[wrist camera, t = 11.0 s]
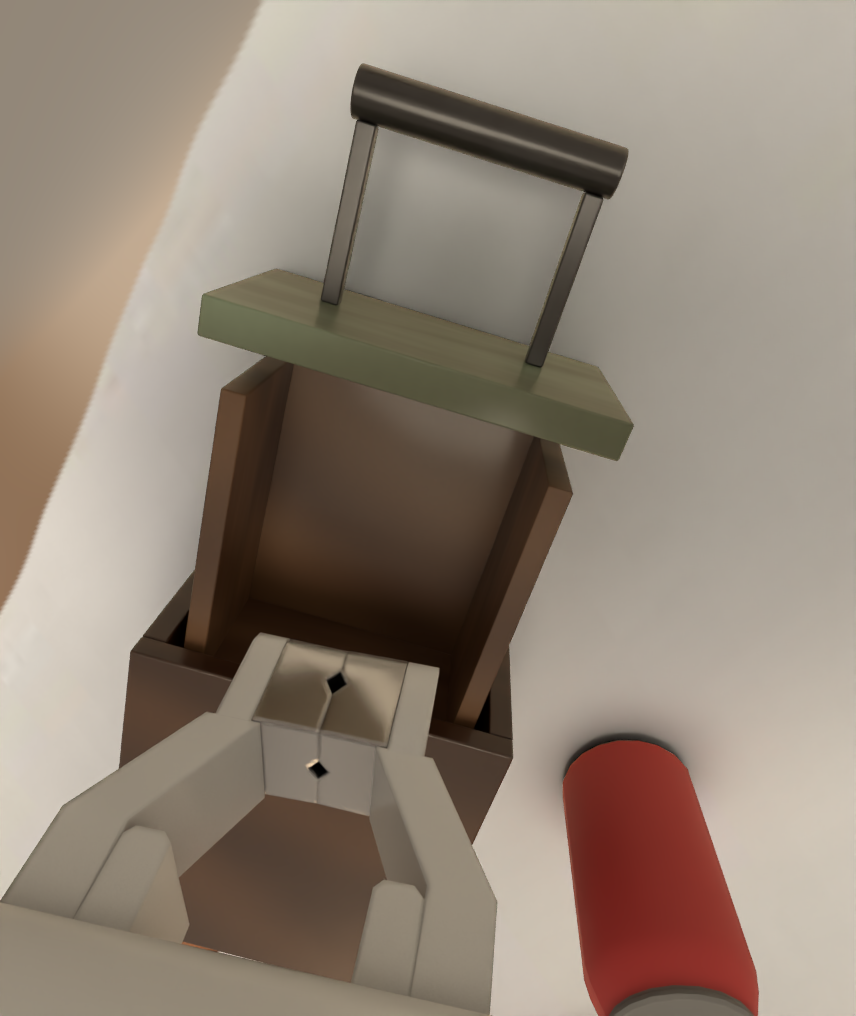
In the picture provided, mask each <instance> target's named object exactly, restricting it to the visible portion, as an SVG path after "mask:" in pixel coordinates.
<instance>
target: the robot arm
mask: <svg viewBox="0 0 856 1016" xmlns="http://www.w3.org/2000/svg"><path fill="white" fill-rule="evenodd" d="M438 677H439V668H437V667H432V666H427V665H422V664H416V663H411V662H409V664H408V661H403V660H398V659H392V658H387V657H382V656H376V655H371V654H365V653H360V652H354V651H344V650H340V649H335V648H331V647H326V646H322V645H317V644H313V643H308V642H304V641H299V640H295V639H289V638H284V637H280V636H275V635H270V634H266V633H261V632H260V633H259V634H258V635H257V636H256V637H255V638H254V640H253V641H252V643H251V645H250V647H249V649H248V651H247V653H246V655H245V657H244V659H243V661H242V663H241V665H240V666H239V668H238V670H237V672H236V674H235V676H234V678H233V680H232V682H231V684H230V686H229V688H228V690H227V692H226V694H225V696H224V698H223V700H222V702H221V703H220V705H219V707H218V709H217V711H216V713H210V712H205V713H204V714H202V715H201V716H199V717H198V718H196V719H195V720H193V721H192V722H190V723H188V724H187V725H185V726H184V727H182V728H181V729H179V730H178V731H176V732H175V733H173V734H172V735H170V736H169V737H167V738H165V739H164V740H162V741H161V742H159V743H158V744H156V745H155V746H153V747H152V748H150V749H149V750H147V751H146V752H144V753H142V754H141V755H139V756H138V757H136V758H135V759H133V760H132V761H130V762H129V763H127V764H126V765H124V766H123V767H121V768H119V769H118V770H116V771H115V772H113V773H112V774H110V775H109V776H107V777H106V778H104V779H103V780H101V781H100V782H98V783H97V784H95V785H93V786H92V787H90V788H89V789H87V790H86V791H84V792H83V793H81V794H80V795H78V796H77V797H75V798H74V799H72V800H70V801H69V802H67V803H66V804H64V805H63V806H62V807H61V809H60V811H59V812H58V814H57V815H56V817H55V818H54V820H53V821H52V823H51V824H50V826H49V827H48V829H47V830H46V832H45V833H44V835H43V836H42V838H41V839H40V841H39V843H38V844H37V846H36V847H35V849H34V850H33V852H32V853H31V855H30V856H29V858H28V859H27V861H26V862H25V864H24V865H23V867H22V868H21V870H20V872H19V873H18V875H17V876H16V878H15V879H14V881H13V882H12V884H11V885H10V887H9V888H8V890H7V891H6V893H5V894H4V896H3V897H2V899H1V900H0V1016H492V1015H490V1002H491V987H492V972H493V957H494V943H495V928H496V913H497V900H496V898H495V896H494V893H493V891H492V889H491V887H490V885H489V882H488V880H487V878H486V876H485V873H484V871H483V869H482V867H481V864H480V862H479V860H478V858H477V856H476V853H475V851H474V849H473V847H472V844H471V842H470V840H469V838H468V836H467V833H466V831H465V829H464V827H463V824H462V822H461V820H460V818H459V815H458V813H457V811H456V809H455V807H454V804H453V802H452V800H451V798H450V795H449V793H448V791H447V789H446V786H445V784H444V782H443V780H442V778H441V775H440V773H439V771H438V769H437V766H436V764H435V762H434V760H433V758H429V757H425V751H426V746H427V740H428V734H429V728H430V723H431V717H432V711H433V706H434V700H435V694H436V689H437V683H438ZM265 794H268V795H273V796H279V797H284V798H289V799H295V800H300V801H306V802H311V803H317V804H321V805H325V806H329V807H333V808H338V809H342V810H346V811H350V812H354V813H358V814H362V815H367V816H370V817H369V820H370V823H371V827H372V830H373V833H374V837H375V840H376V844H377V847H378V851H379V854H380V857H381V861H382V864H383V868H384V871H385V875H386V878H387V880H383V881H381V882H380V883H379V884H377V885H376V886H374V887H373V890H372V894H371V899H370V903H369V907H368V911H367V916H366V920H365V924H364V929H363V933H362V937H361V941H360V946H359V950H358V954H357V959H356V963H355V967H354V971H353V976H352V980H351V983H349V982H344V981H340V980H336V979H331V978H327V977H323V976H318V975H314V974H310V973H305V972H301V971H297V970H292V969H288V968H284V967H279V966H275V965H271V964H266V963H262V962H258V961H253V960H249V959H245V958H240V957H236V956H232V955H227V954H223V953H219V952H214V951H210V950H206V949H201V948H197V947H193V946H188V945H184V944H182V942H183V939H184V937H185V934H186V932H187V930H188V927H189V925H190V924H189V920H188V916H187V911H186V907H185V903H184V899H183V894H182V890H181V886H180V881H179V877H180V876H181V875H182V874H183V873H184V872H185V871H186V870H187V869H189V868H190V867H191V866H192V865H193V864H194V863H195V862H196V861H197V860H198V859H199V858H200V857H201V856H203V855H204V854H205V853H206V852H207V851H208V850H209V849H210V848H211V847H212V846H213V845H214V844H215V843H217V842H218V841H219V840H220V839H221V838H222V837H223V836H224V835H225V834H226V833H227V832H228V831H229V830H231V829H232V828H233V827H234V826H235V825H236V824H237V823H238V822H239V821H240V820H241V819H242V818H243V817H244V816H246V815H247V814H248V813H249V812H250V811H251V810H252V809H253V808H254V807H255V806H256V805H257V804H258V803H260V802H261V801H262V800H263V799H264V798H265Z"/></svg>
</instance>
